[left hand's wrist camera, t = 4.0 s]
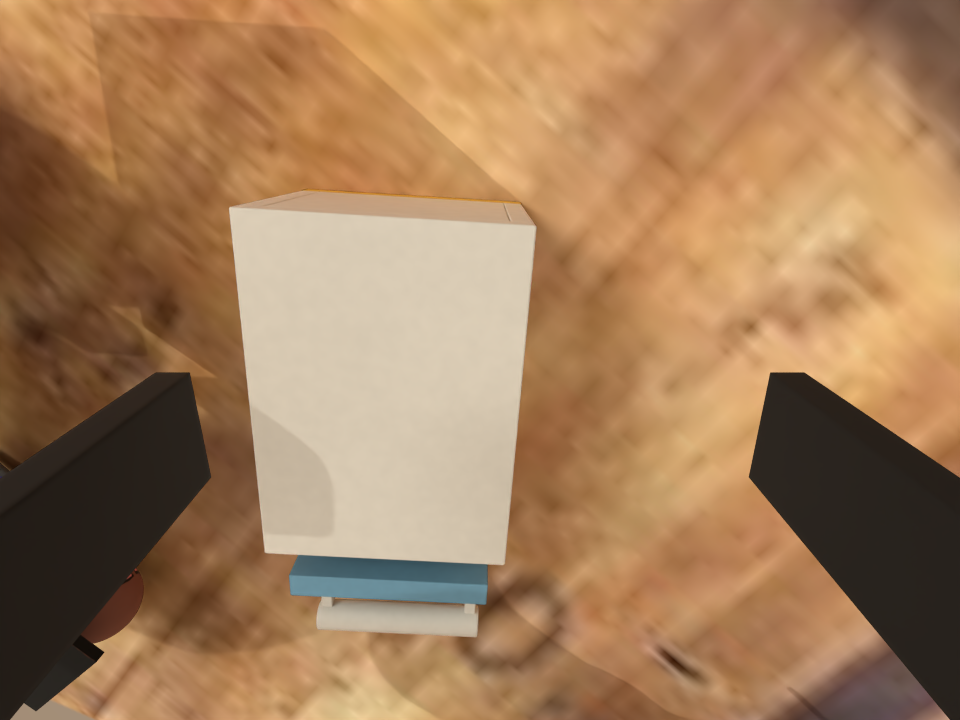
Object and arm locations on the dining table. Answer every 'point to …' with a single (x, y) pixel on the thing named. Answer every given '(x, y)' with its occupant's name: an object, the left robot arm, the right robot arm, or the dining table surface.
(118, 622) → the figurine character
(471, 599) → the drawer
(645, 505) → the dining table surface
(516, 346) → the cabinet
